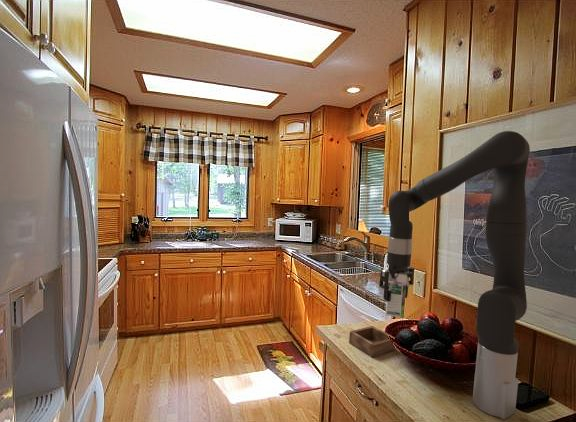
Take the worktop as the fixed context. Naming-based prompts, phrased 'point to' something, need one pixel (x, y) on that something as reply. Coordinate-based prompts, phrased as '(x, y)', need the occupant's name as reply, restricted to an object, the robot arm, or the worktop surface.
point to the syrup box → (397, 296)
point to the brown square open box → (371, 341)
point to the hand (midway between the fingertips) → (395, 299)
